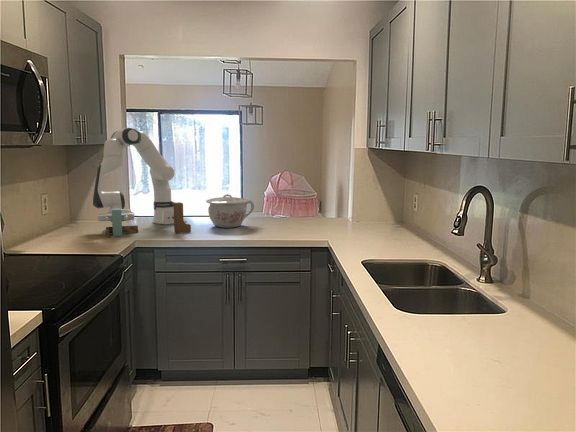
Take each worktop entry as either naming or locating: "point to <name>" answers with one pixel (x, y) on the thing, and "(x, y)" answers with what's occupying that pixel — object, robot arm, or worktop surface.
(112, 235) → the pad
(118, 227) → the painted block
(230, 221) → the chamber pot
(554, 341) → the worktop surface
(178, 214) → the wooden block
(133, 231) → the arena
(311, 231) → the worktop surface
